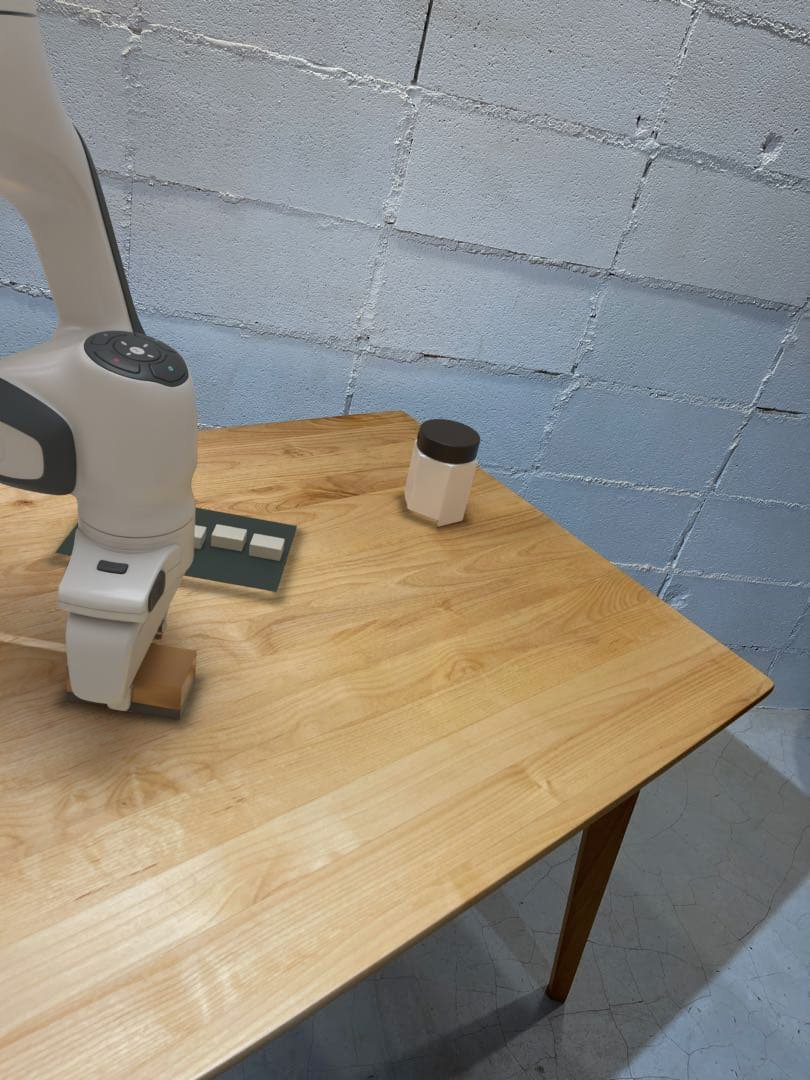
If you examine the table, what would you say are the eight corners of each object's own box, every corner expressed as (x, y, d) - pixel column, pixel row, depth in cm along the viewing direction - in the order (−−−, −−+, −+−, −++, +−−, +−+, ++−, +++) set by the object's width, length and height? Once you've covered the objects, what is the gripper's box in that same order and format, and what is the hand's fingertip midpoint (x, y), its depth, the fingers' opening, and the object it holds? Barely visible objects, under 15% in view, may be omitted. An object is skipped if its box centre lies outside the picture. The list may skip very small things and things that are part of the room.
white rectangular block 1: (168, 543, 92) (169, 532, 92) (175, 532, 94) (175, 521, 94) (200, 549, 93) (201, 537, 92) (205, 538, 95) (206, 526, 94)
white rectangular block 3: (248, 555, 93) (249, 544, 92) (252, 544, 95) (254, 533, 94) (279, 561, 93) (281, 549, 93) (283, 550, 96) (284, 538, 95)
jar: (438, 490, 117) (456, 414, 111) (474, 519, 112) (495, 441, 106) (389, 501, 112) (404, 422, 106) (424, 531, 107) (443, 450, 101)
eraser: (66, 701, 72) (65, 667, 70) (88, 664, 76) (87, 631, 74) (180, 720, 72) (181, 687, 70) (194, 682, 77) (197, 650, 75)
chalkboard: (55, 561, 88) (54, 552, 87) (102, 498, 100) (102, 490, 99) (275, 600, 89) (276, 591, 89) (296, 533, 101) (297, 525, 100)
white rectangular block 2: (210, 546, 93) (211, 534, 93) (215, 535, 95) (216, 523, 95) (241, 551, 94) (242, 540, 93) (246, 540, 96) (247, 529, 95)
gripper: (140, 472, 74) (140, 593, 81) (46, 606, 57) (57, 745, 64) (209, 484, 74) (203, 603, 82) (136, 621, 57) (137, 757, 64)
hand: (138, 667), depth 73 cm, fingers open, 8 cm apart
